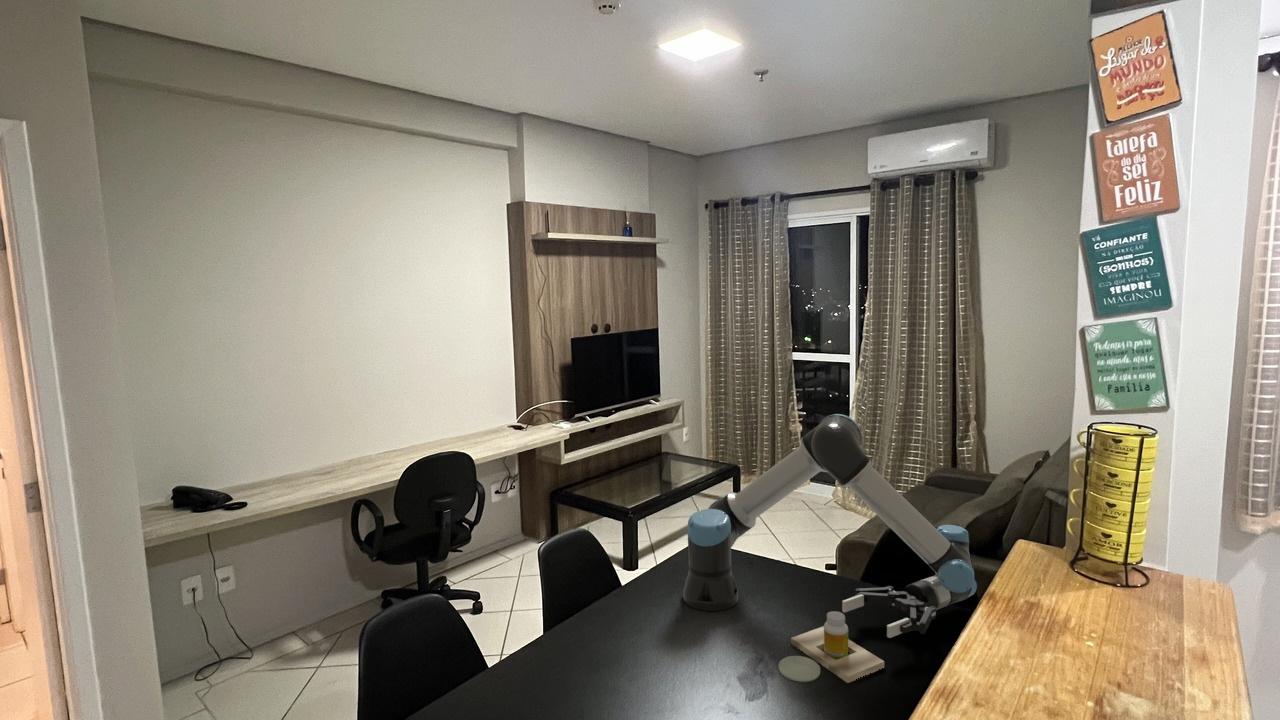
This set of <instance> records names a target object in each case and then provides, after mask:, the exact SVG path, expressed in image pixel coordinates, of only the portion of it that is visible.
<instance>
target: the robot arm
mask: <svg viewBox="0 0 1280 720" xmlns="http://www.w3.org/2000/svg"><path fill="white" fill-rule="evenodd" d="M862 436H863V435H862V432H861V429H860V427H859V424H858V423H857V422H856V421H855V420H854V419H853V418H852V417H850V416H849V415H845V414H842V413H841V414H840V413H834V414H830V415H827V416H825V417H824V418H823V419H822V420H821V421H820V422H819V423H818V425H817V426H815V427H814V428H813V429H812V430H809V432H808V433H806V434H804V436H802V437H800V445H799V446H797V448H795V449H794V450H793V451H792V452H790V453H789V454H788V455H787V456H785V457H784V458H782V459H780V461H779V462H777V463H776V464H774V465H773V466H772V467H771V468H769V469H768V470H767V471H765V472H764V473H763V474H761V475H760V476H759V477H757V478H756V479H754V480H753V481H752V482H751V483H749V484H748V485H746V486H745V487H744V488H743V489H742V490H740V491H739V492H732V491H731V492H728V493H727V494H726V495H724V496H723V497H721V498H720V499H717V500H715V501H714V502H712V503H711V504H710V505H709V507H708V508H707V509H701V510H700V511H696V512H694V513H692V515H690V517H689V519H688V521H687V527H686V533H687V553H688V554H687V555H688V573H687V576H686V580H685V584H684V587H683V590H682V593H683V594H682V595H683V597H682V598H683V602H684V603H685V604H686V605H687V606H689V607H691V608H692V609H695V610H700V611H702V612H703V611H704V612H721V611H725V610H728V609H730V608H731V609H732V607H734V606H736V604H737V603H738V602H739V589H738V586H737V583H736V581H735V578H734V574H733V572H732V547H733V546H734V545H735V543H736V541H737V540H738V539H739V538H740V537H742V536H743V535H744V534H746V533H747V532H748V531H749V530H751V529H752V528H754V527H755V525H756V521H757V518H758V517H760V516H761V515H762V514H764V513H766V512H767V511H768V510H769V509H771V508H772V507H774V506H775V505H777V504H778V503H779V502H781V501H782V500H784V499H785V498H786V497H787V496H789V495H790V494H792V493H793V492H794V491H796V490H797V489H798V488H800V487H801V486H803V485H804V484H805V483H806V482H808V481H809V480H811V479H812V478H814V476H816V475H818V474H819V473H821V472H823V473H827V474H829V475H830V476H831V477H832V478H833V480H835V481H837V482H838V484H839V485H840V486H842V487H843V488H850V490H852V492H854V494H855V495H857V497H858V498H859V499H861V501H863V502H864V504H865V505H867V506H868V507H869V508H870V509H871V510H872V512H874V513H875V515H877V516H878V517H879V519H881V520H882V521H883V522H884V524H886V525H887V526H888V527H889V528H890V529H891V530H892V531H893V532H894V533H895V534H896V535H897V536H898V537H899V538H900V539H901V540H902V541H903V542H904V543H905V544H906V545H907V546H909V548H910V549H911V550H912V551H914V553H915V554H917V555H918V557H919V558H921V560H923V561H924V562H925V564H927V565H928V566H929V568H930V569H931V570H932V571H933V572H935V574H934V575H932V576H929V577H927V578H924V579H920V580H918V581H915V582H911V583H909V584H908V585H906V586H905V588H904V589H903V590H902V591H900V590H899V591H895V590H894V586H892V585H888V586H885V587H865V588H863V587H860V588H855V595H854V596H853V595H852V596H851V597H849V598H847V599H843V600H842V601H841V602H842V604H841V606H842V607H841V608H842V609H841V610H842V613H843V614H844V613H847V612H850V611H853V610H856V609H859V608H862V607H864V605H865V604H866V605H880V606H881V605H882V606H888V607H889V608H895V609H896V608H897V609H899V610H901V611H902V612H904V613H909V618H908V617H904V618H903V619H900V620H897V621H895V622H892V623H889V624H886V637H887V638H889V639H891V638H894V637H896V636H898V635H901V634H906V633H910V632H916V631H918V633H919V634H921V635H925V633H926V632H927V630H928V628H929V626H930V623H932V620H935V619H936V618H937V613H936V612H937V610H941V609H942V608H944V607H948V606H950V605H953V604H956V603H958V602H962V601H965V600H967V599H968V598H970V597H972V596H973V595H975V593H976V591H977V588H978V587H977V586H978V584H977V583H978V582H977V581H976V579H975V570H974V568H973V564H972V560H971V555H970V549H969V546H970V539H969V532H968V530H967V529H965V528H964V527H962V526H959V525H954V524H942V525H940V526H938V527H937V528H936V527H935V526H934V525H933V524H932V523H931V522H930V521H928V520H927V519H926V518H925V517H924V515H922V514H921V513H920V511H918V509H916V508H915V507H914V506H913V505H912V504H911V503H910V502H909V501H908V500H907V499H906V498H905V497H904V496H903V495H902V494H901V493H900V492H898V491H897V489H895V488H894V486H893V485H892V484H891V483H890V482H888V480H886V479H885V478H884V477H883V476H882V474H880V473H879V472H878V471H877V470H876V469H875V468H874V467H873V466H872V460H871V458H870V457H868V455H867V454H865V452H864V451H863V449H862V448H861V444H862V440H863V439H862V438H863V437H862ZM892 598H893V599H892ZM892 600H893V603H892ZM917 615H918V616H921V618H920V620H919V622H918V621H917Z"/></svg>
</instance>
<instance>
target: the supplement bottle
mask: <svg viewBox="0 0 1280 720" xmlns="http://www.w3.org/2000/svg"><path fill="white" fill-rule="evenodd" d="M823 626H824V650H823V652H824V653H826V654H827V655H829V656H830V657H832V658H833V659H835V660H838V659H840V658H843V657H845V656H848V655H849V653H848V639H849V627H848V626H849V625H847V624H846V616H845V614H844V613H843V612H840V611H835V610H834V611H828V612H827V613H826V621H825V622H824V625H823Z"/></svg>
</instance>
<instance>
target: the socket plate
mask: <svg viewBox="0 0 1280 720" xmlns="http://www.w3.org/2000/svg"><path fill="white" fill-rule="evenodd" d="M790 643H791V645H792V646H794V647H795V648H796V647H797V648H796V649H798V650H799V649H800V650H799V651H801V652H802V651H803V654H805V655H806V656H808V658H809V657H810V659H812V660H813V661H815V662H816V663H817V664H819V663H820V665H821V666H822V667H824V668H826V669H827V670H828V671H830V673H833V674H834V675H835V676H836V677H838V678H840V679H841V680H842V681H844V682H845V683H847V684H849V683H852V682H854V681H857V680H859V679H861V678H863V676H864V677H866V676H869V675H870V673H871V674H873V673H876V672H877V671H880V670H883V669H884V668H885V661H884V660H883V659H881V658H880V657H878V656H876V655H875V654H874V653H871V651H868V650H866V649H865V648H864V647H862V646H860V645H858V644H856V642H854V641H852V640H851V639H849V638H848V652H849V653H848V656H845V657H843V658H840V659H838V660H835V659H833V658H832V657H830V656H829V655H827V654H826V653H824V625H823V626H820V627H818V628H814V629H812V630H808V631H807V632H804V633H801V634H798V635H796V636H792V637H790ZM882 668H883V669H882ZM879 669H880V670H879ZM865 675H866V676H865ZM860 677H861V678H860ZM858 678H859V679H858ZM856 679H857V680H856Z"/></svg>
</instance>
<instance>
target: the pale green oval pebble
mask: <svg viewBox="0 0 1280 720" xmlns="http://www.w3.org/2000/svg"><path fill="white" fill-rule="evenodd" d="M778 671H779V673H780V675H782V676H783V677H784V678H786V679H787V680H789V681H794V682H798V683H808V682H814V681H815V680H817V679H818V678H819V677H820V676H821V666H820V665H819V663H818V662H817V661H815V660H814V659H812V658H809V657H807V656H801V655H790V656H786V657H783V658H782V659H780V661H779V663H778Z"/></svg>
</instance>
